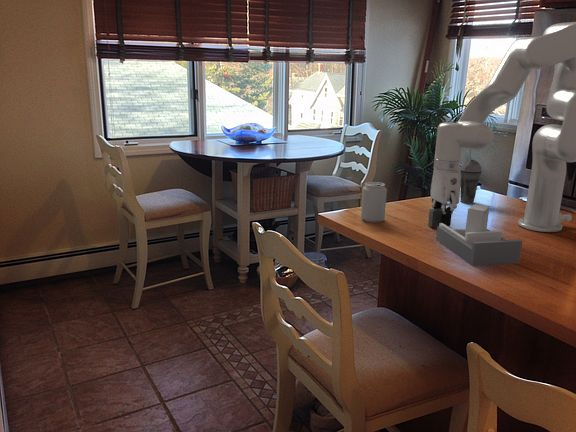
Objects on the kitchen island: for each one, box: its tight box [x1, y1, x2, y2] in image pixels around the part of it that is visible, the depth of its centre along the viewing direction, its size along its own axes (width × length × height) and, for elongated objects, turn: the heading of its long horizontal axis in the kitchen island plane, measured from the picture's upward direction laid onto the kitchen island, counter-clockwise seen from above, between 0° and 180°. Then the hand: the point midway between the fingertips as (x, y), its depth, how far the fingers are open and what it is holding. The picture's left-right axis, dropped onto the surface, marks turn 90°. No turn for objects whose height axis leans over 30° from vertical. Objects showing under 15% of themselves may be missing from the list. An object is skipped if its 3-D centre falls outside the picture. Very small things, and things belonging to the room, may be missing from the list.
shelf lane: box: [435, 226, 523, 267], centre depth 143 cm, size 13×20×6 cm, turn 11°
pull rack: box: [427, 207, 503, 246], centre depth 152 cm, size 10×26×6 cm, turn 11°
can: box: [360, 181, 388, 224], centre depth 168 cm, size 8×8×12 cm
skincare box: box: [464, 203, 491, 233], centre depth 143 cm, size 6×4×12 cm
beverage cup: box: [459, 148, 482, 205], centre depth 190 cm, size 7×7×20 cm
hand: (440, 222), depth 162 cm, fingers closed on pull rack, 4 cm apart
